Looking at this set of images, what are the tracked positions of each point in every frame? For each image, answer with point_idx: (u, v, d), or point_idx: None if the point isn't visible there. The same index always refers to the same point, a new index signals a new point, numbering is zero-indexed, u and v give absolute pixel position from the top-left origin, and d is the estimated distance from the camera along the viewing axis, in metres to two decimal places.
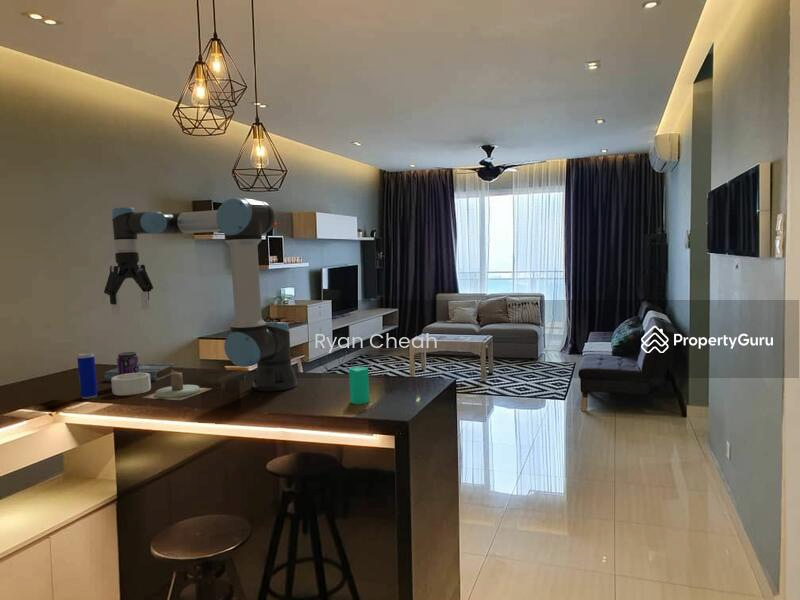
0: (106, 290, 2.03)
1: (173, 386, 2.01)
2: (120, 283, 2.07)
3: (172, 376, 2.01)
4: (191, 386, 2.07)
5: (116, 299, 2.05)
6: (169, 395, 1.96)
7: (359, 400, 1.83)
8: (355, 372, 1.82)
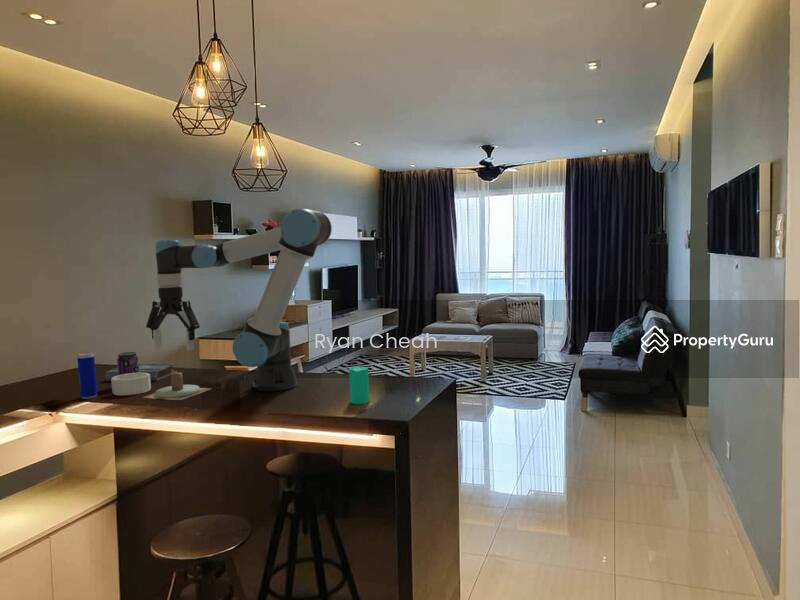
0: None
1: (173, 386, 2.01)
2: (157, 318, 2.01)
3: (172, 376, 2.01)
4: (191, 386, 2.07)
5: None
6: (169, 395, 1.96)
7: (359, 400, 1.83)
8: (355, 372, 1.82)
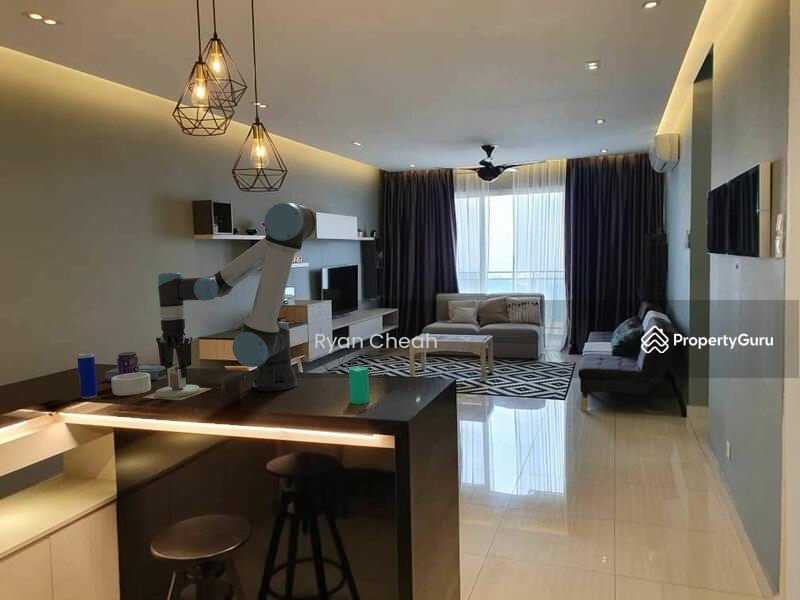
0: (164, 362, 2.04)
1: (173, 386, 2.01)
2: (166, 354, 2.02)
3: (172, 376, 2.01)
4: (191, 386, 2.07)
5: None
6: (169, 395, 1.96)
7: (359, 400, 1.83)
8: (355, 372, 1.82)
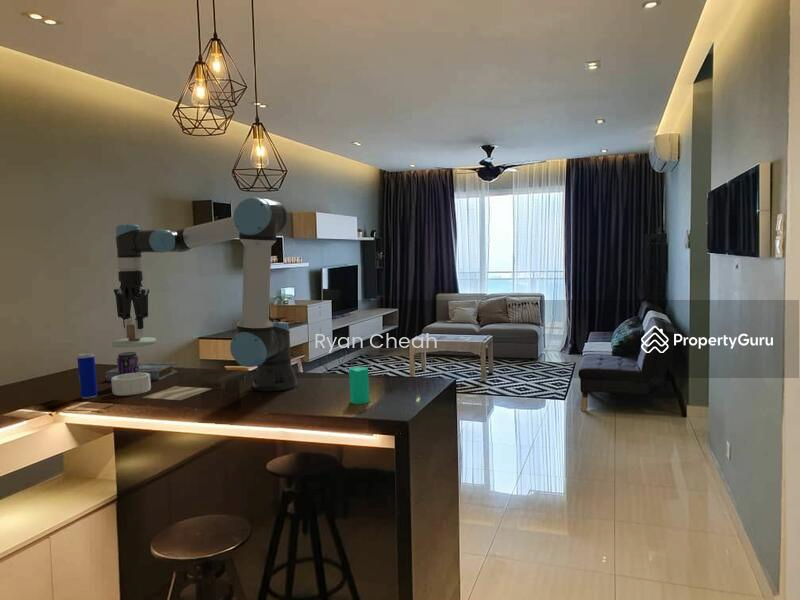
0: None
1: (130, 336, 2.04)
2: (124, 305, 2.05)
3: (129, 327, 2.04)
4: (148, 338, 2.10)
5: None
6: (125, 344, 1.99)
7: (359, 400, 1.83)
8: (355, 372, 1.82)
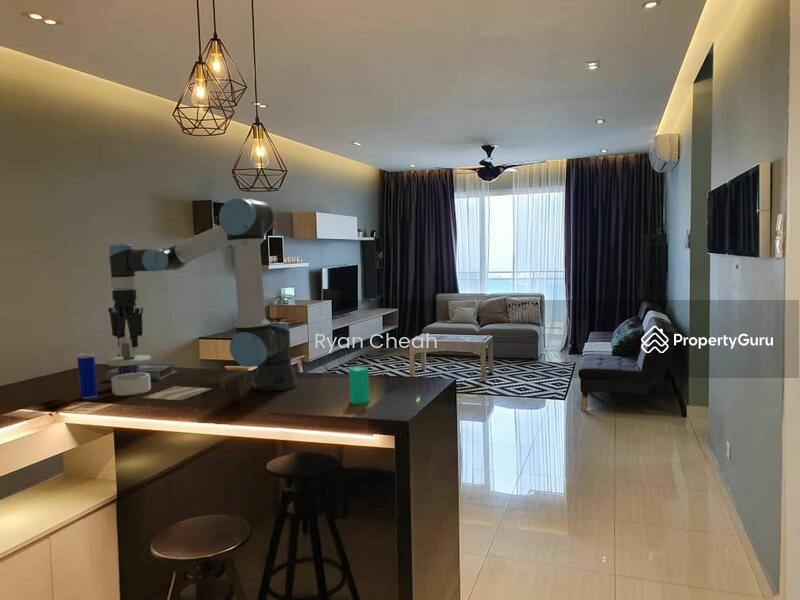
0: (116, 332, 2.09)
1: (124, 355, 2.06)
2: (118, 324, 2.06)
3: (123, 345, 2.06)
4: (143, 356, 2.12)
5: None
6: (119, 363, 2.01)
7: (359, 400, 1.83)
8: (355, 372, 1.82)
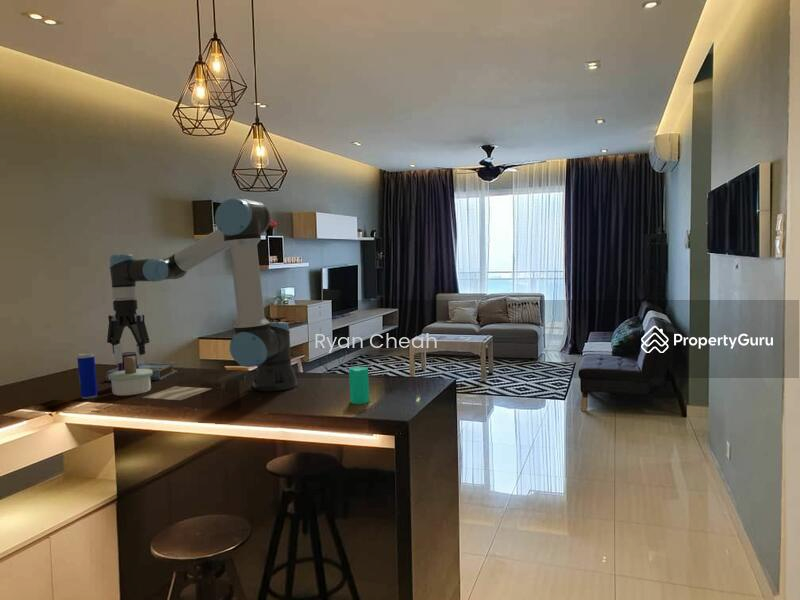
0: (111, 339, 2.10)
1: (126, 369, 2.06)
2: (115, 332, 2.07)
3: (125, 359, 2.06)
4: (145, 370, 2.12)
5: None
6: (121, 378, 2.01)
7: (359, 400, 1.83)
8: (355, 372, 1.82)
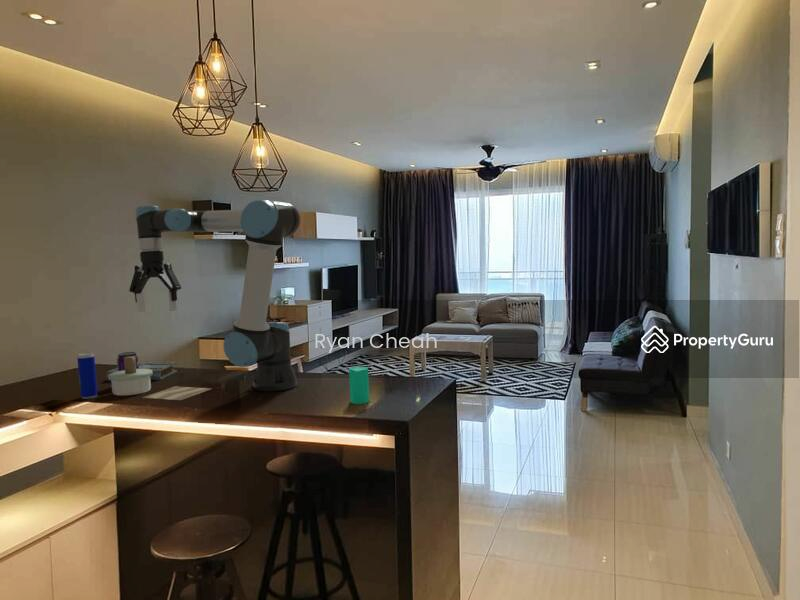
0: None
1: (126, 369, 2.06)
2: (140, 282, 2.10)
3: (125, 359, 2.06)
4: (145, 370, 2.12)
5: None
6: (121, 378, 2.01)
7: (359, 400, 1.83)
8: (355, 372, 1.82)
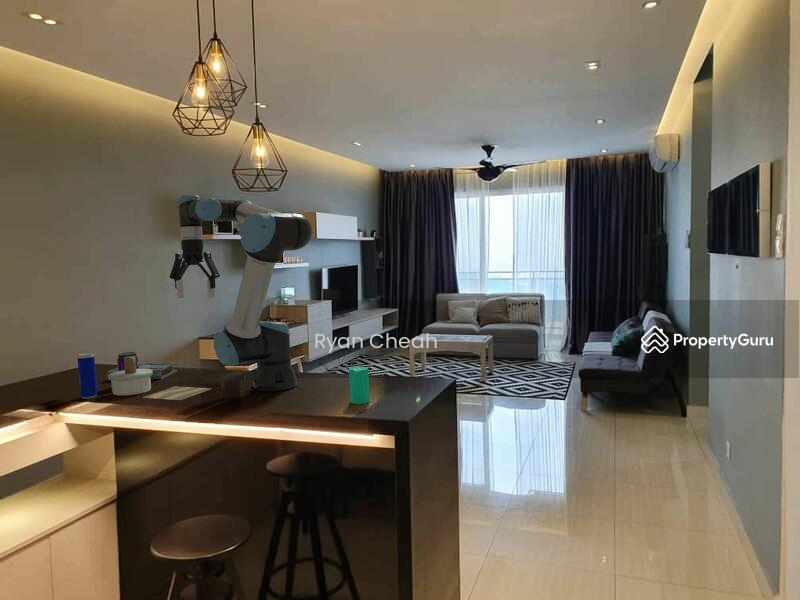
0: None
1: (126, 369, 2.06)
2: (180, 269, 2.16)
3: (125, 359, 2.06)
4: (145, 370, 2.12)
5: None
6: (121, 378, 2.01)
7: (359, 400, 1.83)
8: (355, 372, 1.82)
